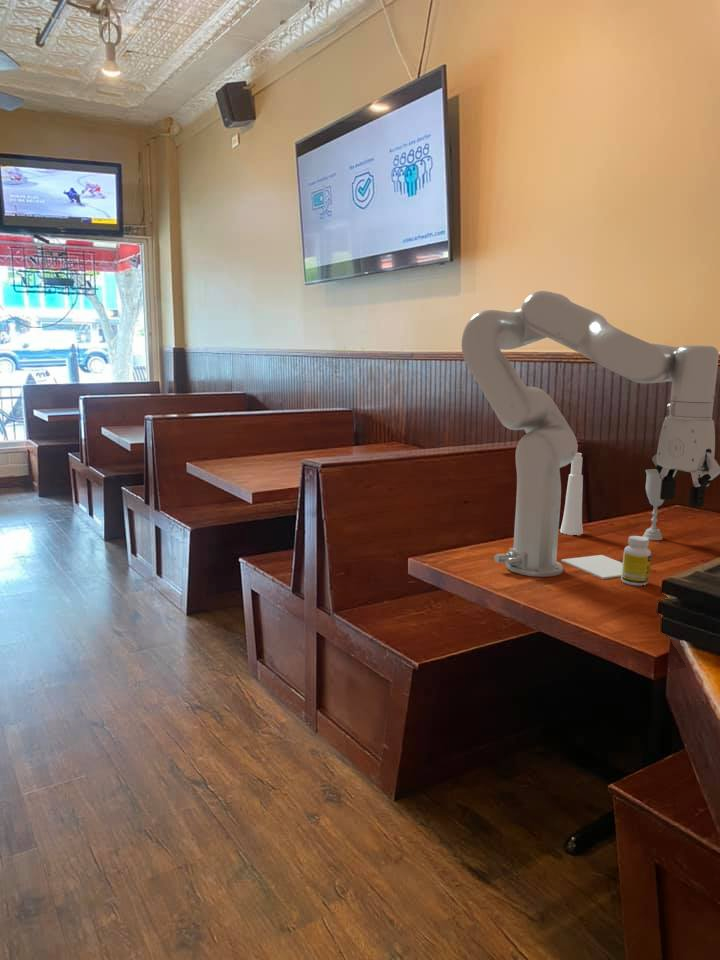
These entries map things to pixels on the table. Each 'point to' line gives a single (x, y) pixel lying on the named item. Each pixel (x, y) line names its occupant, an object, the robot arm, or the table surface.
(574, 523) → the cosmetic bottle
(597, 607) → the table surface
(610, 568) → the mat
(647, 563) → the supplement bottle
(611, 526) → the table surface
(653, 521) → the chalice
